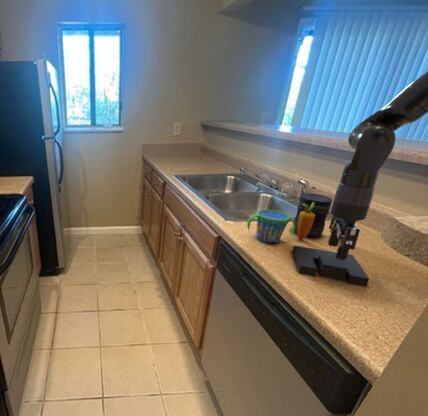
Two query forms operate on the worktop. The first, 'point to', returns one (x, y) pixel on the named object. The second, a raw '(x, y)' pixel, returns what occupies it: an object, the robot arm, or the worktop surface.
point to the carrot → (305, 221)
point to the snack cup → (271, 225)
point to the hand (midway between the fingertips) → (336, 252)
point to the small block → (331, 268)
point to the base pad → (309, 257)
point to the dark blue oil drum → (319, 210)
